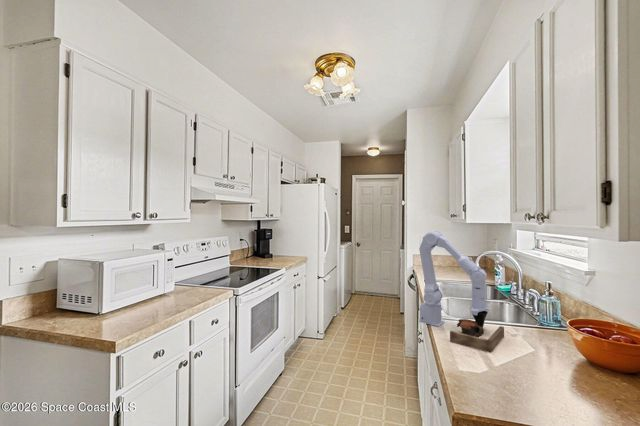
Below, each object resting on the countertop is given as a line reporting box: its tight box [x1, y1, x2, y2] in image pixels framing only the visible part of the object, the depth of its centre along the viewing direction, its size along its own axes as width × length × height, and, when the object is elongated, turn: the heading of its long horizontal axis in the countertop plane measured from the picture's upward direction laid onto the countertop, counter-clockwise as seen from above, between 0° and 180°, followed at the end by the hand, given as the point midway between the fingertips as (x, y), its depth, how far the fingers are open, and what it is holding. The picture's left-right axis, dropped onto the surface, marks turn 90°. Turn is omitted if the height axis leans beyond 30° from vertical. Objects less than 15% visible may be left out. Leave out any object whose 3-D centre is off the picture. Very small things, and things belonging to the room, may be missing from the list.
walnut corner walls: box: [449, 325, 505, 354], centre depth 123 cm, size 15×20×4 cm
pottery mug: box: [456, 318, 485, 338], centre depth 126 cm, size 12×10×8 cm
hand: (479, 327), depth 131 cm, fingers closed
